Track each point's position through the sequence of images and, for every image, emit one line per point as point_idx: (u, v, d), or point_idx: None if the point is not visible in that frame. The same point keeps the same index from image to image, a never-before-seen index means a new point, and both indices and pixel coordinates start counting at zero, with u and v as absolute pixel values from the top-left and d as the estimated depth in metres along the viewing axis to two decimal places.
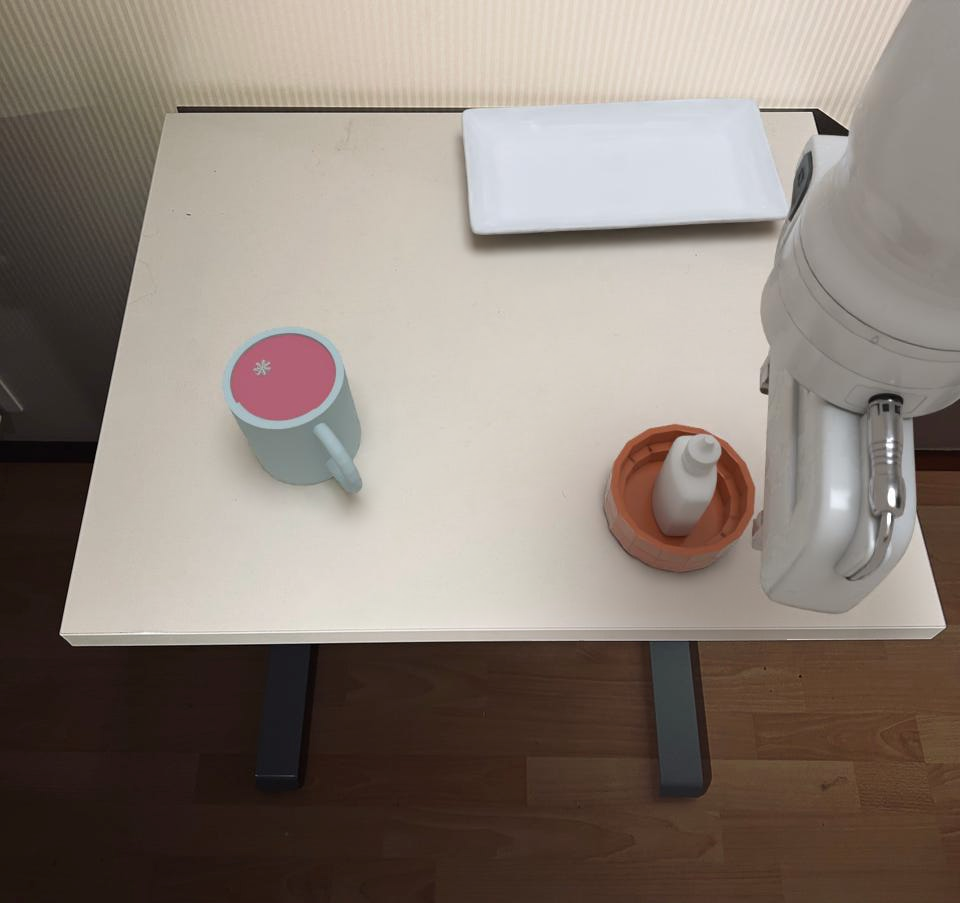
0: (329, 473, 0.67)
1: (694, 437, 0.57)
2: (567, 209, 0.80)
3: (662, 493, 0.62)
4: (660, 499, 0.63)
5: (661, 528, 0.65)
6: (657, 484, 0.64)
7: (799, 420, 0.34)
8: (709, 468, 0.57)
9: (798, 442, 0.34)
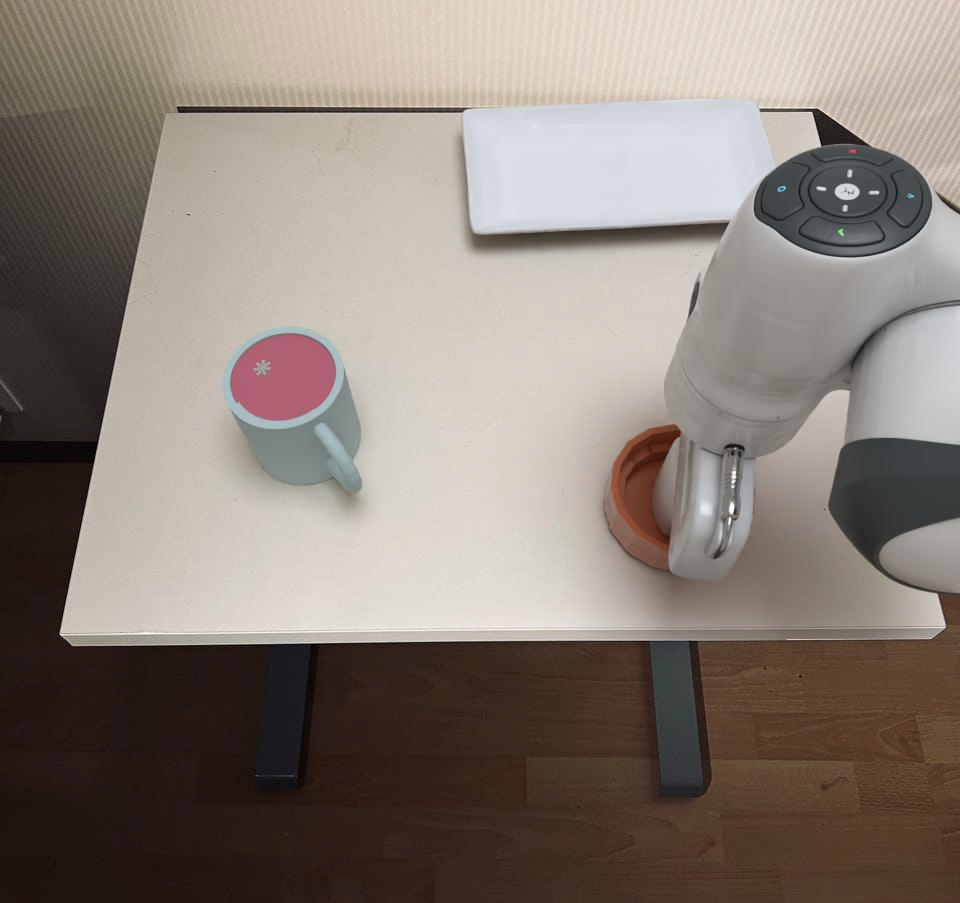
0: (329, 473, 0.67)
1: None
2: (567, 209, 0.80)
3: (662, 493, 0.62)
4: (660, 499, 0.63)
5: (661, 528, 0.65)
6: (657, 484, 0.64)
7: (692, 456, 0.52)
8: None
9: (690, 471, 0.52)
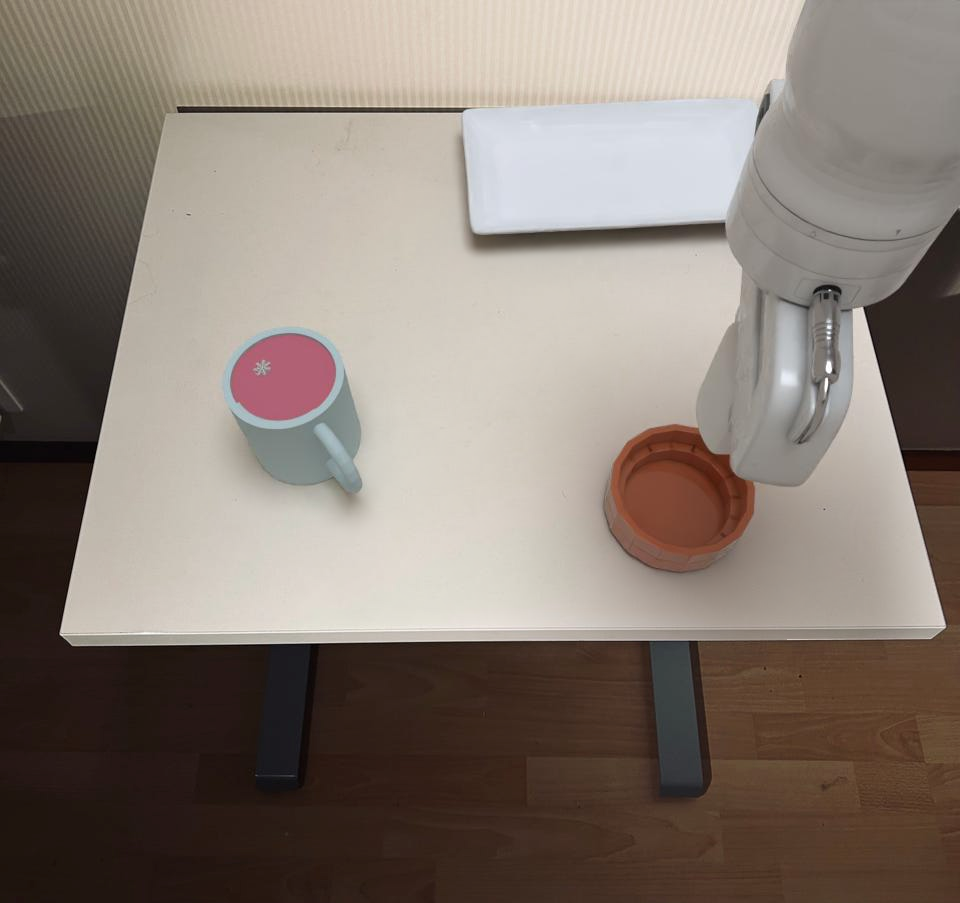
0: (329, 473, 0.67)
1: None
2: (567, 209, 0.80)
3: (711, 397, 0.50)
4: (708, 406, 0.51)
5: (708, 445, 0.52)
6: (703, 390, 0.52)
7: (761, 323, 0.40)
8: None
9: (760, 340, 0.39)
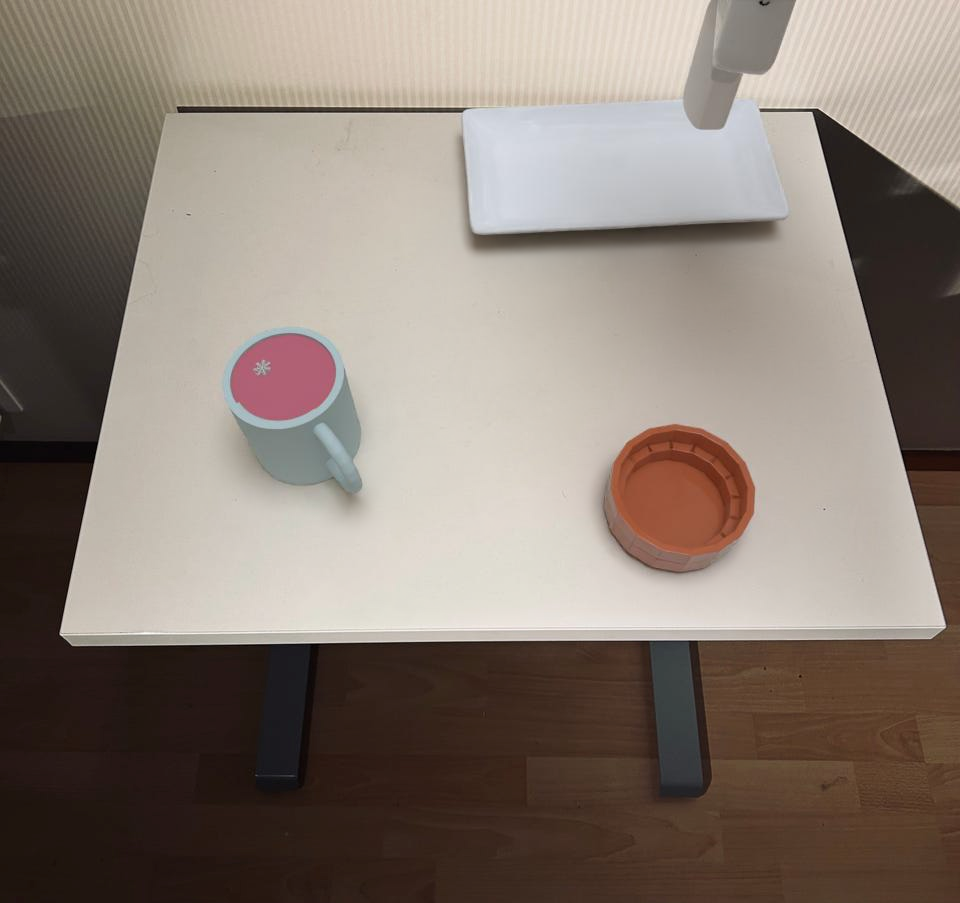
0: (329, 473, 0.67)
1: None
2: (567, 209, 0.80)
3: (696, 68, 0.59)
4: (693, 80, 0.60)
5: (694, 120, 0.61)
6: (689, 72, 0.61)
7: None
8: None
9: None
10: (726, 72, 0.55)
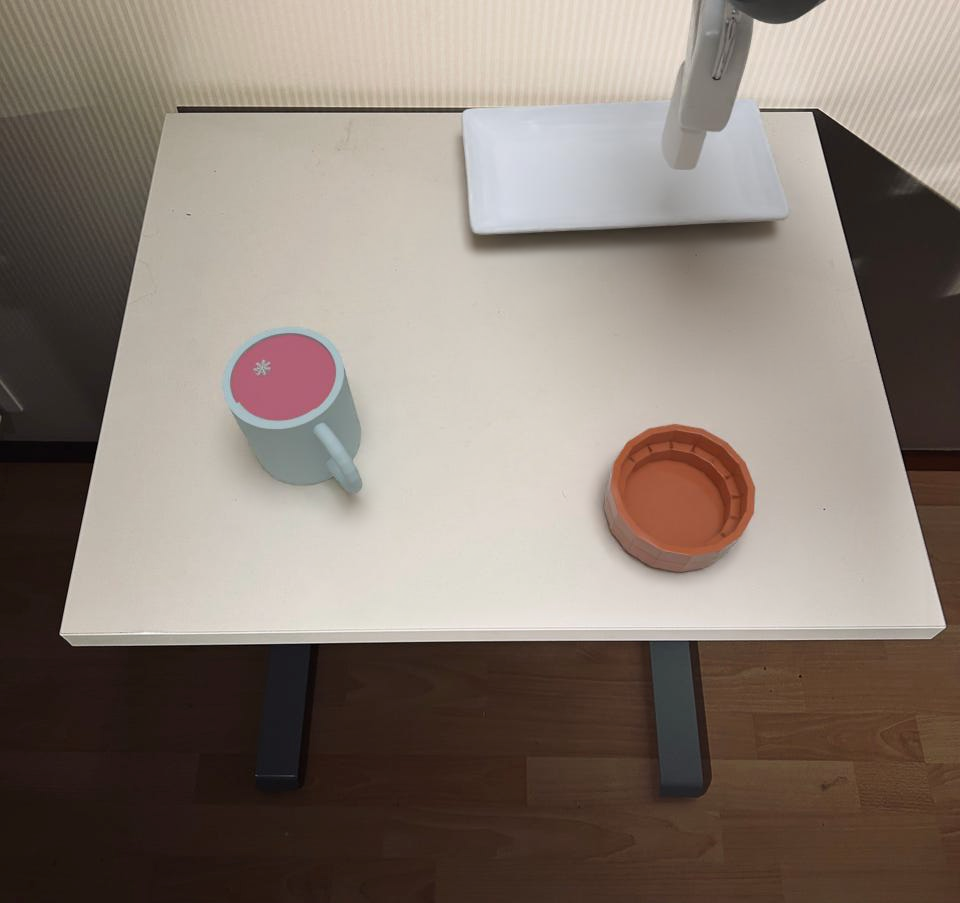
0: (329, 473, 0.67)
1: None
2: (567, 209, 0.80)
3: (671, 119, 0.70)
4: (668, 128, 0.70)
5: (669, 162, 0.72)
6: (666, 121, 0.71)
7: (699, 22, 0.59)
8: None
9: (698, 32, 0.59)
10: None
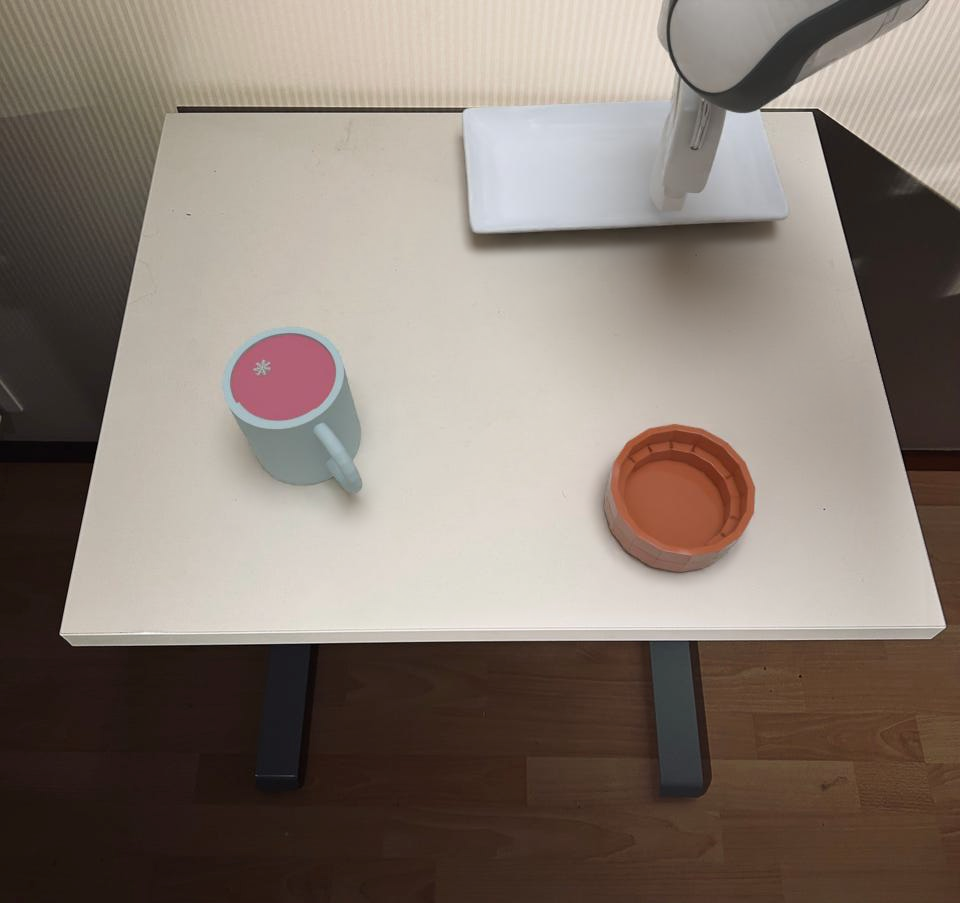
0: (329, 473, 0.67)
1: None
2: (567, 208, 0.80)
3: (658, 165, 0.74)
4: (656, 173, 0.75)
5: (657, 204, 0.77)
6: (654, 165, 0.76)
7: None
8: None
9: (678, 102, 0.65)
10: (675, 191, 0.71)
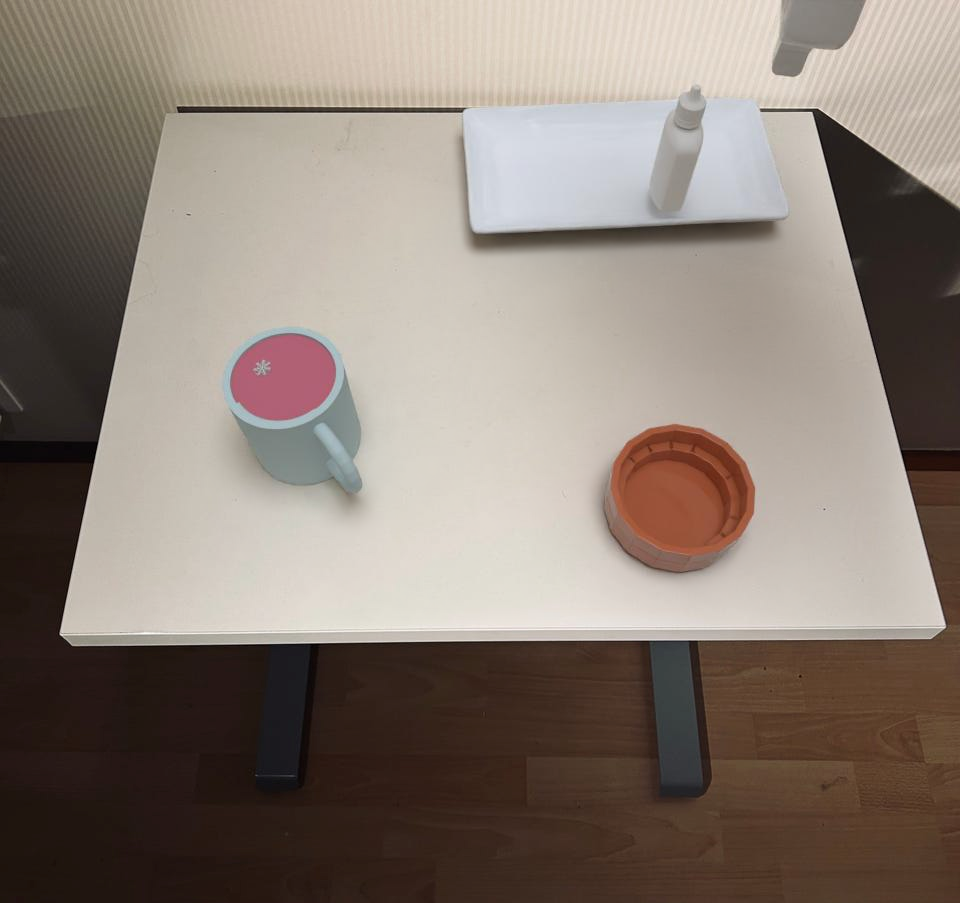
0: (329, 473, 0.67)
1: (684, 93, 0.69)
2: (567, 208, 0.80)
3: (658, 165, 0.74)
4: (656, 173, 0.75)
5: (657, 204, 0.77)
6: (654, 165, 0.76)
7: None
8: (696, 119, 0.69)
9: None
10: (790, 64, 0.48)
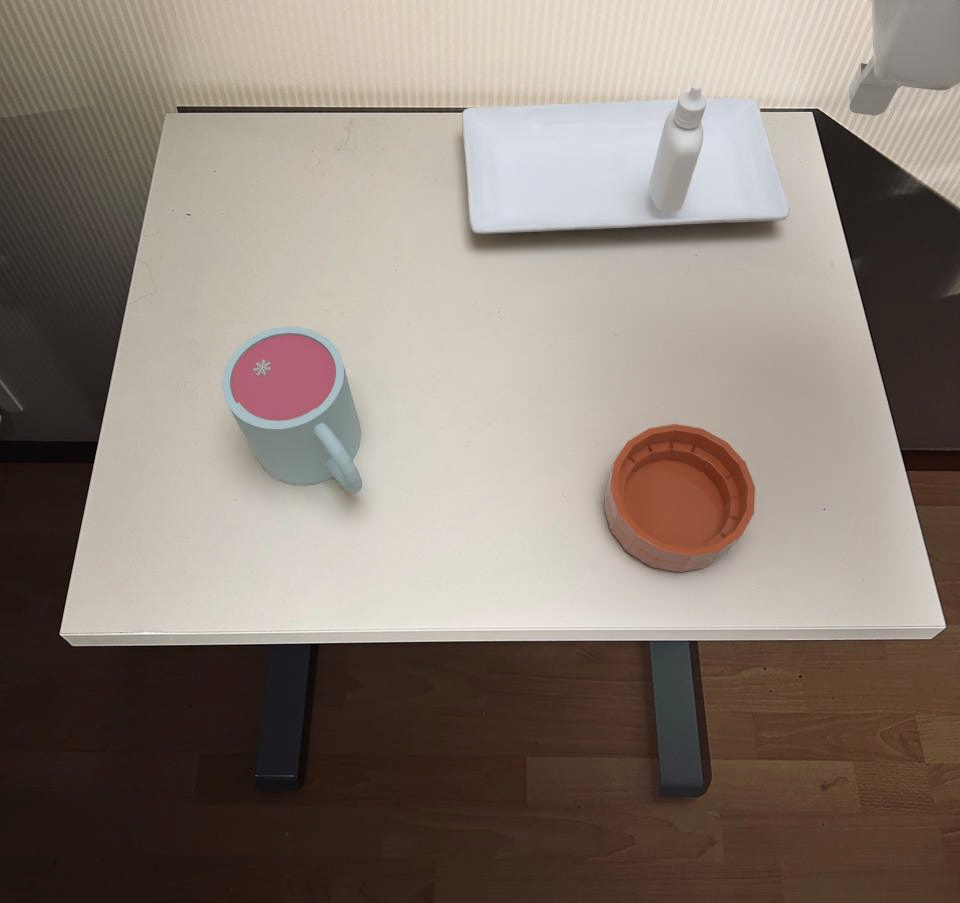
0: (329, 473, 0.67)
1: (684, 93, 0.69)
2: (567, 208, 0.80)
3: (658, 165, 0.74)
4: (656, 173, 0.75)
5: (657, 204, 0.77)
6: (654, 165, 0.76)
7: None
8: (696, 119, 0.69)
9: None
10: (873, 100, 0.40)
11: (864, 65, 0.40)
